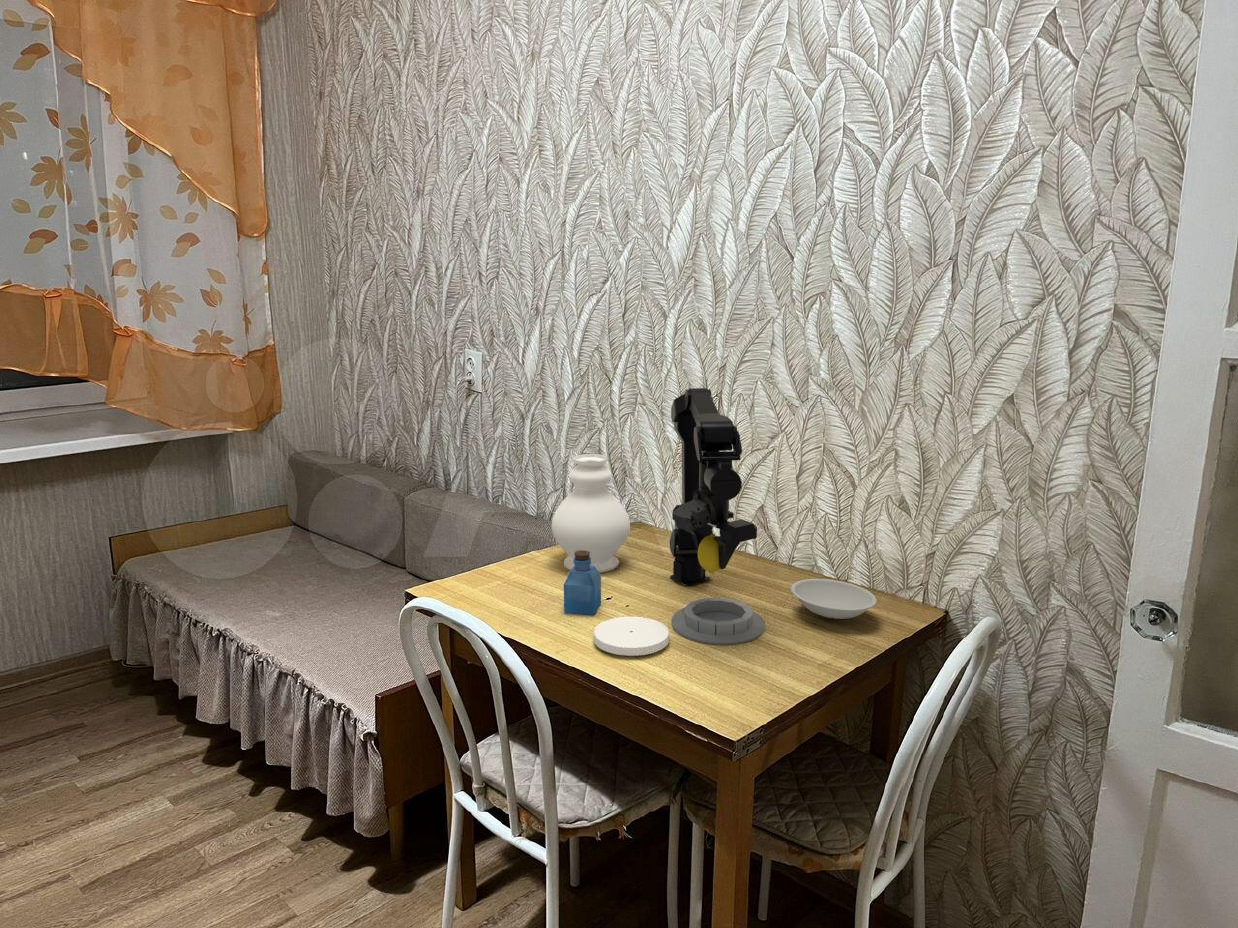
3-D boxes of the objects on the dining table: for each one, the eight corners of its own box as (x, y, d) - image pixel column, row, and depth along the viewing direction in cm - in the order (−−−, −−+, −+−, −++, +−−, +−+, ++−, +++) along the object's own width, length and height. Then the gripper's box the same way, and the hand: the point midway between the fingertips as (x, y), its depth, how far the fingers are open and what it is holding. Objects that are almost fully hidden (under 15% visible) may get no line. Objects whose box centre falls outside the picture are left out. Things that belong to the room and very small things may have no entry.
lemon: (695, 568, 185) (696, 529, 183) (723, 568, 185) (724, 529, 183) (699, 579, 179) (700, 538, 178) (728, 578, 180) (729, 538, 178)
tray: (722, 600, 196) (722, 586, 196) (784, 629, 182) (785, 615, 181) (653, 620, 186) (653, 606, 186) (713, 653, 172) (713, 637, 171)
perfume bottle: (594, 616, 189) (593, 559, 186) (564, 613, 190) (563, 556, 187) (601, 604, 195) (600, 548, 192) (571, 601, 196) (571, 546, 193)
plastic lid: (684, 646, 176) (684, 633, 175) (625, 668, 167) (626, 654, 167) (636, 622, 186) (636, 610, 186) (578, 641, 178) (578, 629, 177)
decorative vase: (644, 559, 220) (645, 454, 214) (602, 583, 206) (601, 471, 200) (581, 546, 230) (580, 445, 224) (536, 567, 215) (534, 461, 209)
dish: (773, 613, 190) (774, 589, 189) (818, 595, 199) (819, 572, 198) (846, 641, 177) (848, 616, 176) (890, 621, 186) (892, 597, 185)
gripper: (650, 481, 181) (649, 559, 185) (713, 504, 166) (711, 587, 170) (696, 473, 187) (694, 548, 191) (760, 494, 172) (757, 575, 176)
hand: (712, 564), depth 182 cm, fingers closed on lemon, 5 cm apart
